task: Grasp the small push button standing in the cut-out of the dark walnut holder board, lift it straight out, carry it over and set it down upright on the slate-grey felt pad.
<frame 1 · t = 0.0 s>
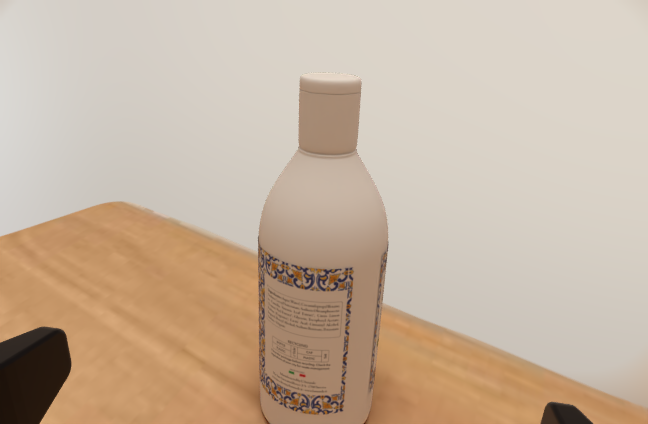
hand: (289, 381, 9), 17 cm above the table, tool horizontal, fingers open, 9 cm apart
bath foam: (315, 406, 31), on the table
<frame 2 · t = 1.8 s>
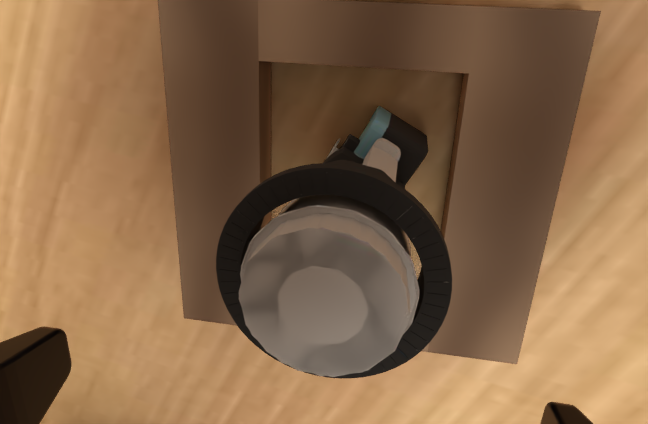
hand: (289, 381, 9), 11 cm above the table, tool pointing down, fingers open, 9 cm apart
holder board: (356, 180, 19), on the table
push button: (357, 178, 20), on the table
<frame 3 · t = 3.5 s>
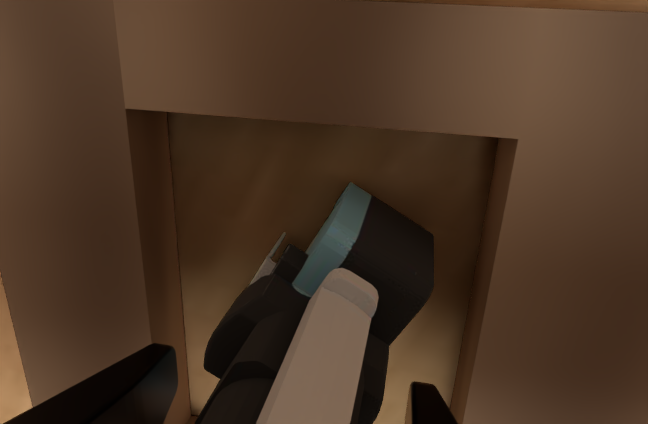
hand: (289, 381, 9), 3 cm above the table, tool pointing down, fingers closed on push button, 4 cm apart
holder board: (317, 295, 12), on the table
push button: (319, 292, 12), on the table, touching gripper
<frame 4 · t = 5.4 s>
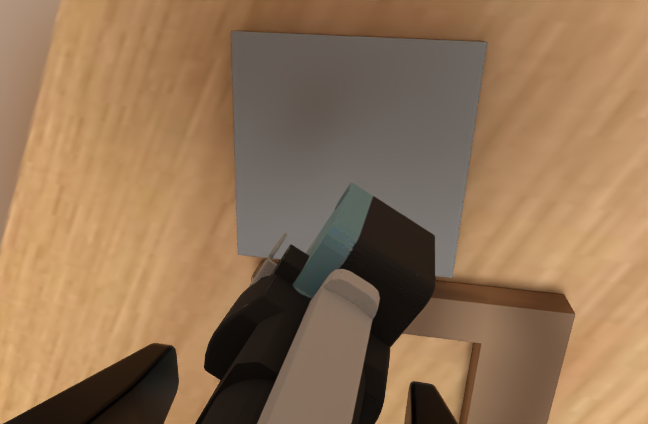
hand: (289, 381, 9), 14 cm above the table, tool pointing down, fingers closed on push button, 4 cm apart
holder board: (394, 388, 25), on the table
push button: (320, 292, 12), point 10 cm above the table, touching gripper
felt pad: (348, 158, 21), on the table
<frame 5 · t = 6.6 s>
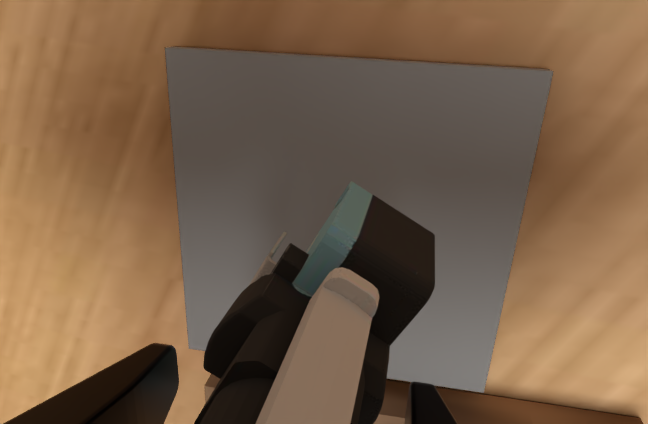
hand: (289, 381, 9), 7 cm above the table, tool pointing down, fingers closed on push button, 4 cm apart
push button: (319, 291, 12), point 3 cm above the table, touching gripper
felt pad: (340, 228, 15), on the table
when the fingers open (5 cm above the table, at t = 7.3 s): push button drops 1 cm, resting on felt pad.
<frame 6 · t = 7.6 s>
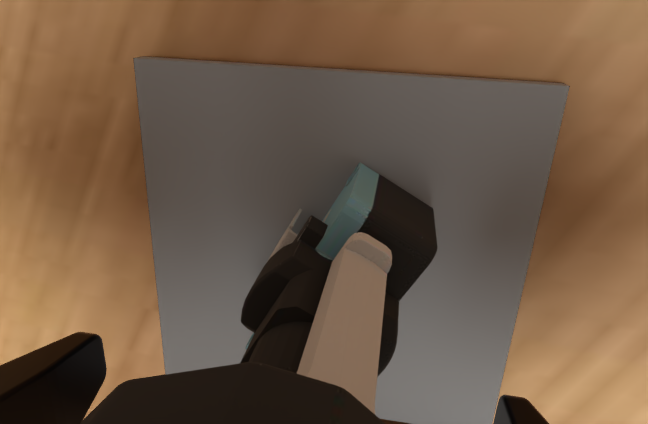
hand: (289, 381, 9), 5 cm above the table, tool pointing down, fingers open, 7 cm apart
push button: (329, 263, 13), resting on felt pad
felt pad: (330, 256, 14), on the table
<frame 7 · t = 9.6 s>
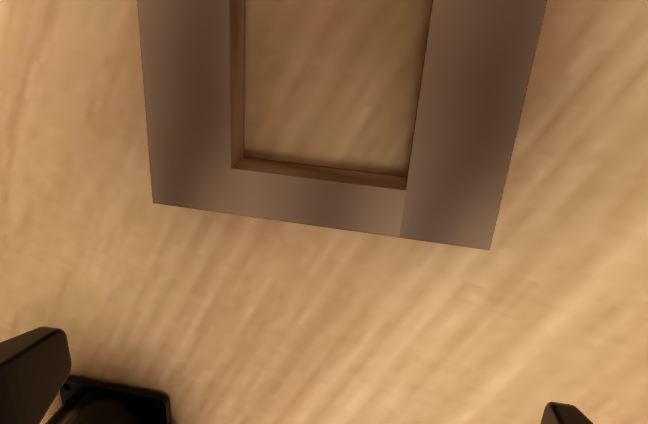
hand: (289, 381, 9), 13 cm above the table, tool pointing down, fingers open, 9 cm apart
holder board: (331, 55, 19), on the table
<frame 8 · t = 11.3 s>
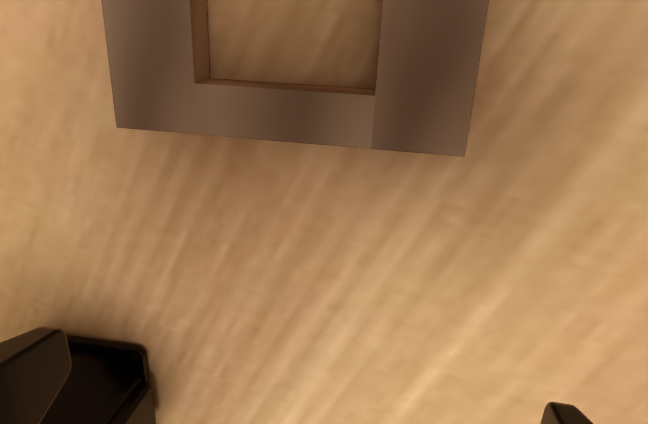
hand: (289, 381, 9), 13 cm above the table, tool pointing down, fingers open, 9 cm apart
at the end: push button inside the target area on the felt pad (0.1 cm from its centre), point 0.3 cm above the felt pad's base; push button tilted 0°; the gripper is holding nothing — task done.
